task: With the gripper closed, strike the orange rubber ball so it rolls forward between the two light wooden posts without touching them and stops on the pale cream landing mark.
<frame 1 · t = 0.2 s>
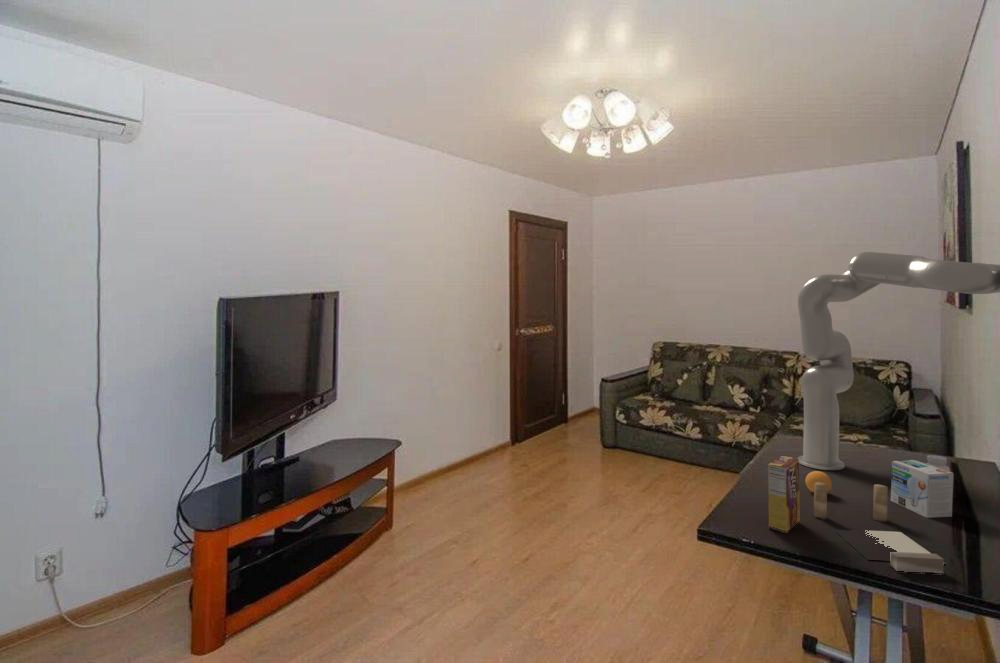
supplement bottle: (935, 493, 136), on the table
stopper wall: (916, 570, 97), on the table
post 2: (879, 519, 120), on the table
post 1: (820, 516, 122), on the table
landing mark: (884, 545, 107), on the table
candy box: (783, 526, 118), on the table
light bulb box: (920, 509, 126), on the table
ball: (818, 482, 137), on the table
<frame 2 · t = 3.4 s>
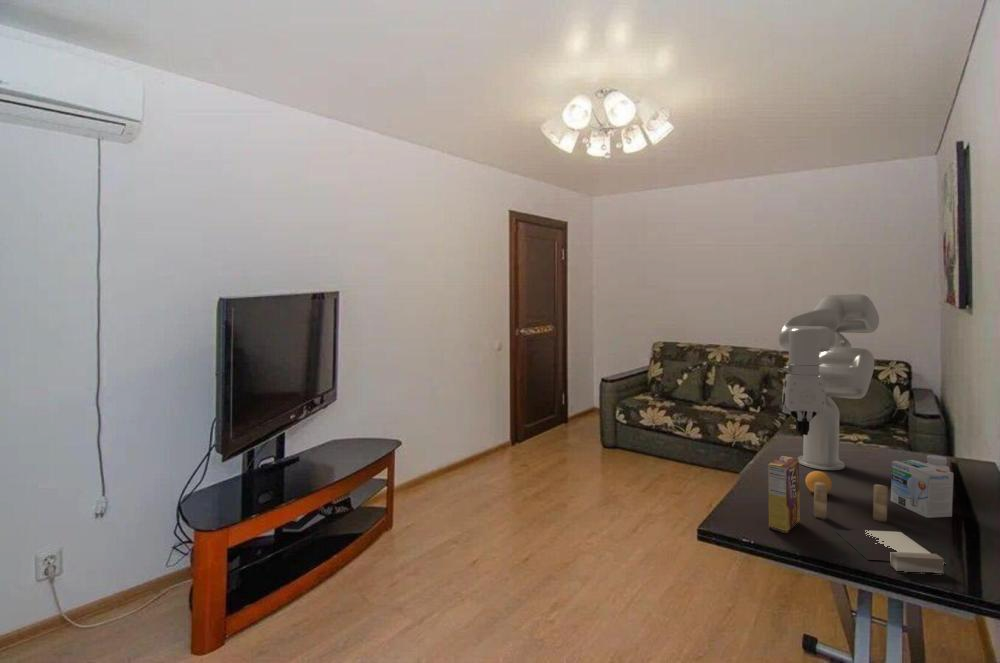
hand: (802, 433, 146), 14 cm above the table, tool pointing down, fingers closed
nothing on the table moved.
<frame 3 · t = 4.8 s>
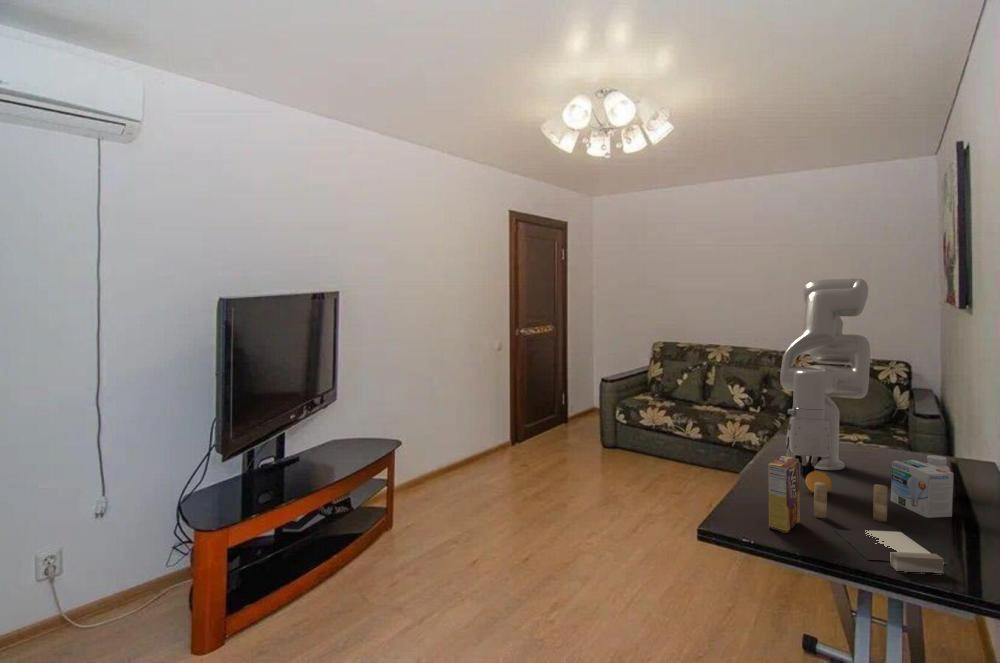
hand: (807, 478, 142), 2 cm above the table, tool pointing down, fingers closed
nothing on the table moved.
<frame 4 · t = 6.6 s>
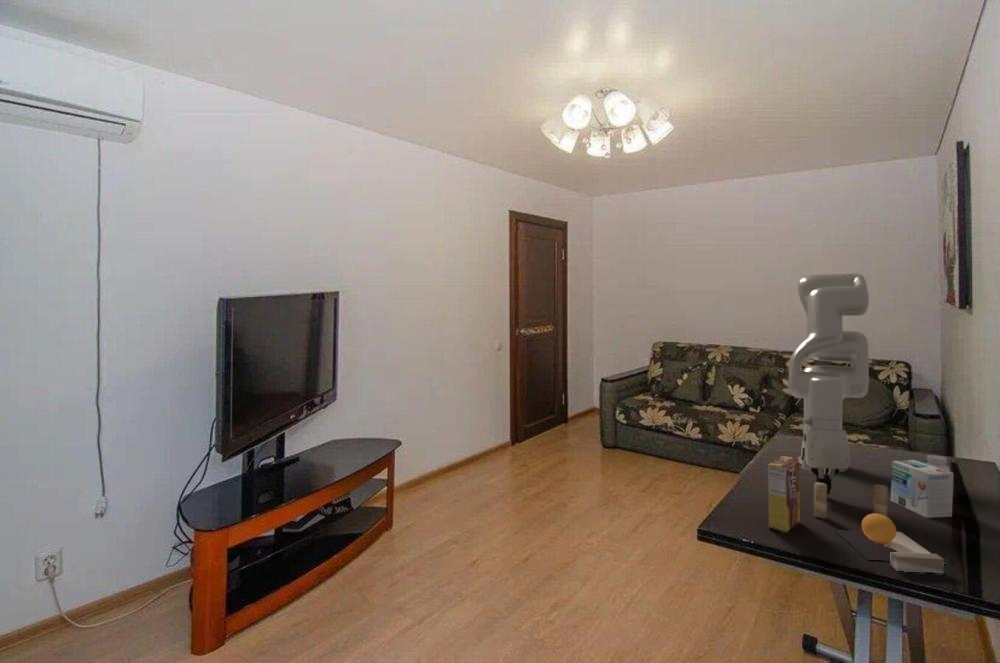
hand: (823, 492, 134), 2 cm above the table, tool pointing down, fingers closed
ball: (878, 528, 109), on the table
everything else where it was.
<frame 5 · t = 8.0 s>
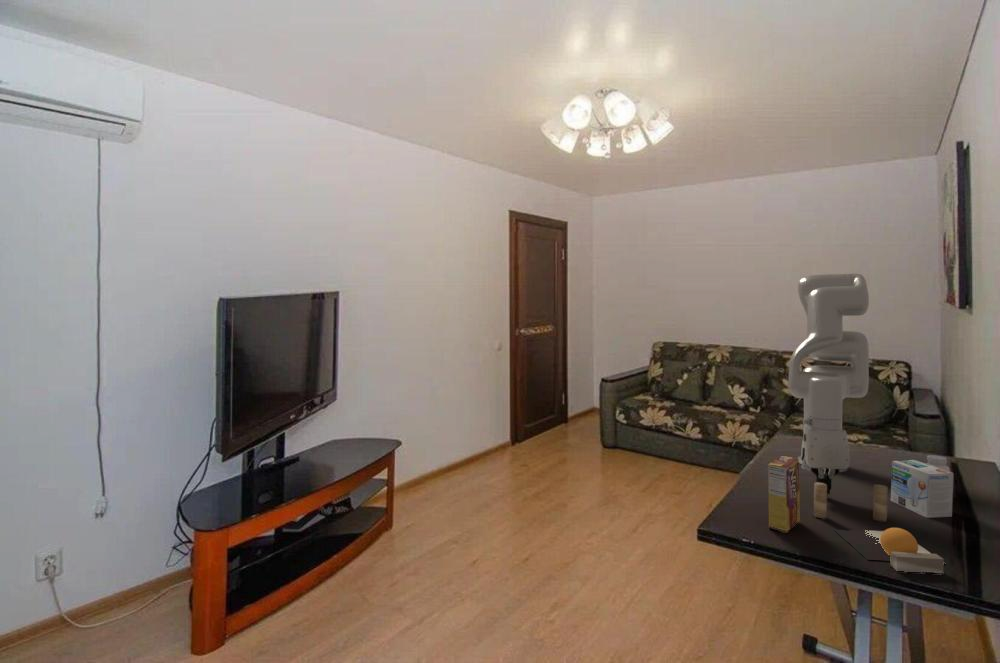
hand: (823, 492, 134), 2 cm above the table, tool pointing down, fingers closed
ball: (898, 543, 102), on the table
everything else where it was.
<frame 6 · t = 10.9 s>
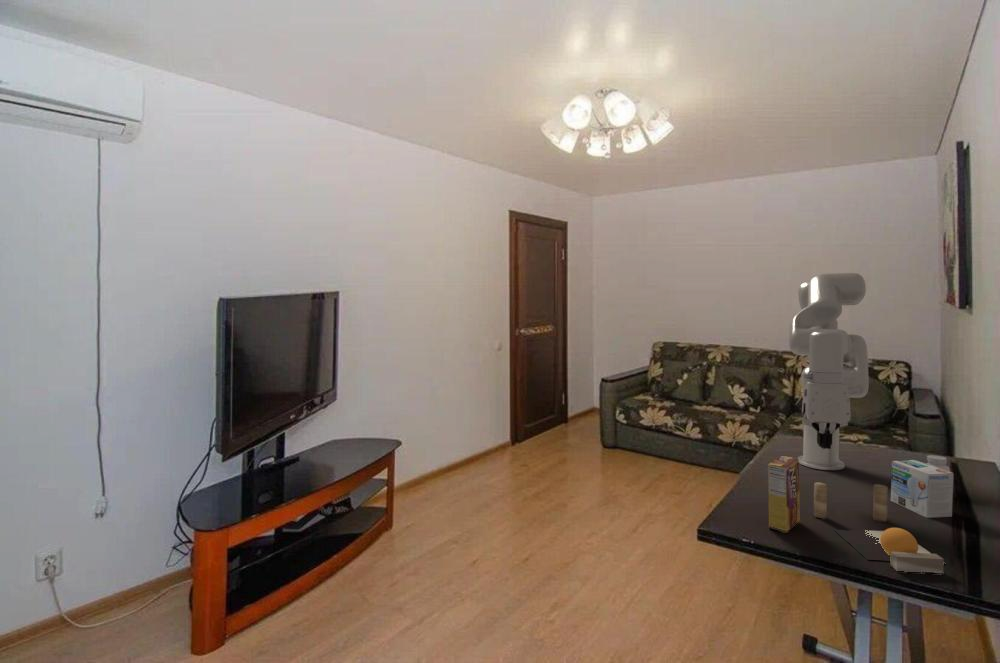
hand: (824, 447, 133), 13 cm above the table, tool pointing down, fingers closed
nothing on the table moved.
at the end: ball 5.3 cm from the landing mark (horizontally); ball never touched post 2; ball never touched post 1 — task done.
